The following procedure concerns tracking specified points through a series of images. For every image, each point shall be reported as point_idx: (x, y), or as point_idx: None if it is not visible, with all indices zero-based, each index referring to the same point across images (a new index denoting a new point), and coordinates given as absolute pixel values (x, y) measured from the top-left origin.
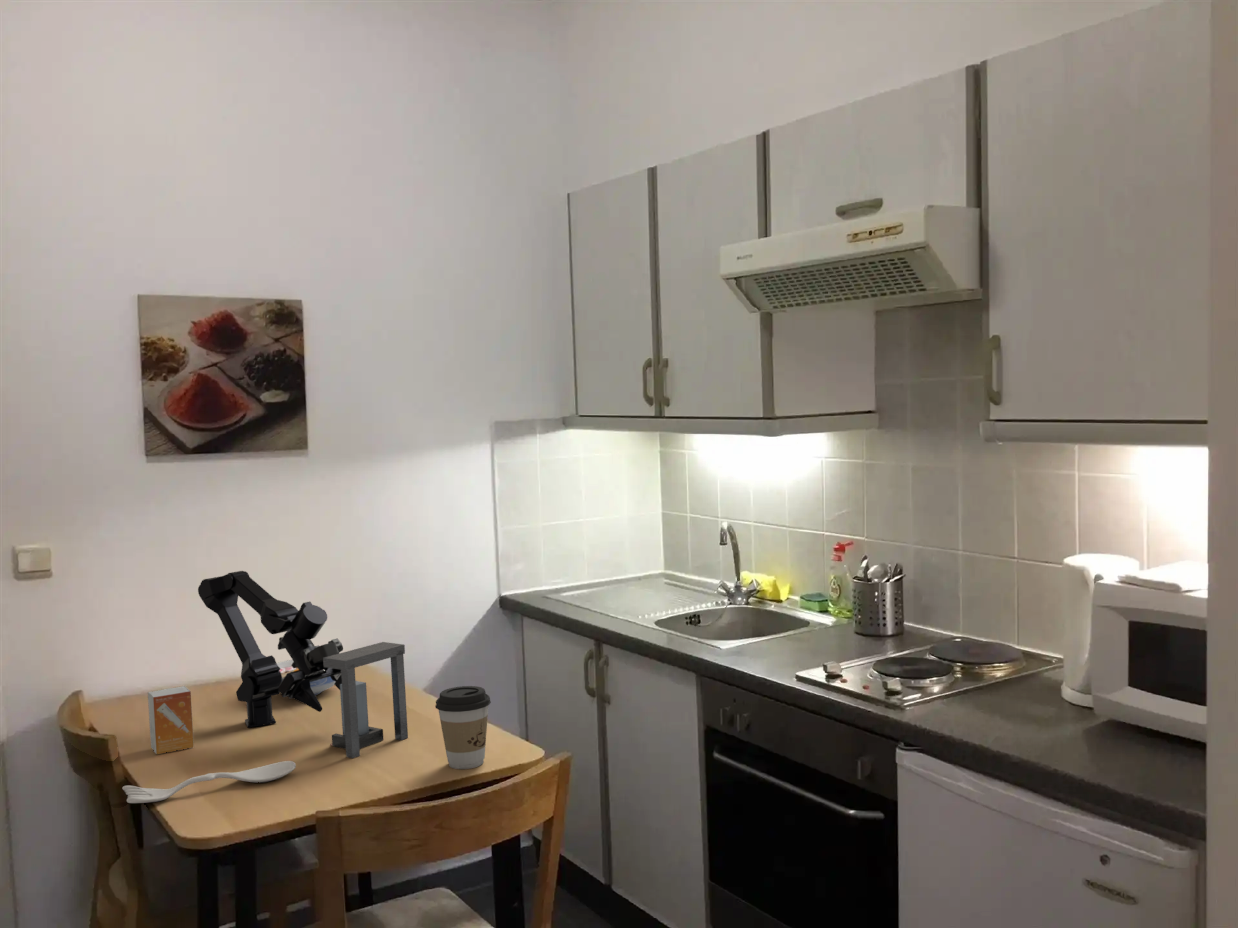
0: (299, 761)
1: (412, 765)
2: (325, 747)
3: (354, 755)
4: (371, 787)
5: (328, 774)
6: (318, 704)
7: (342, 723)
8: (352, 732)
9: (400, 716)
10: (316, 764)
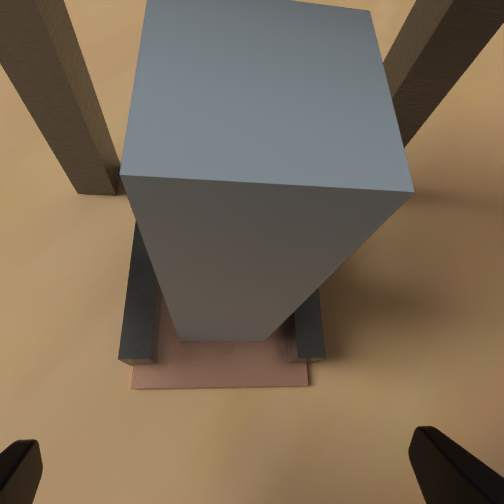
0: (490, 321)
1: None
2: (337, 377)
3: None
4: None
5: (472, 146)
6: (470, 462)
7: (282, 320)
8: None
9: (92, 89)
10: (460, 240)
